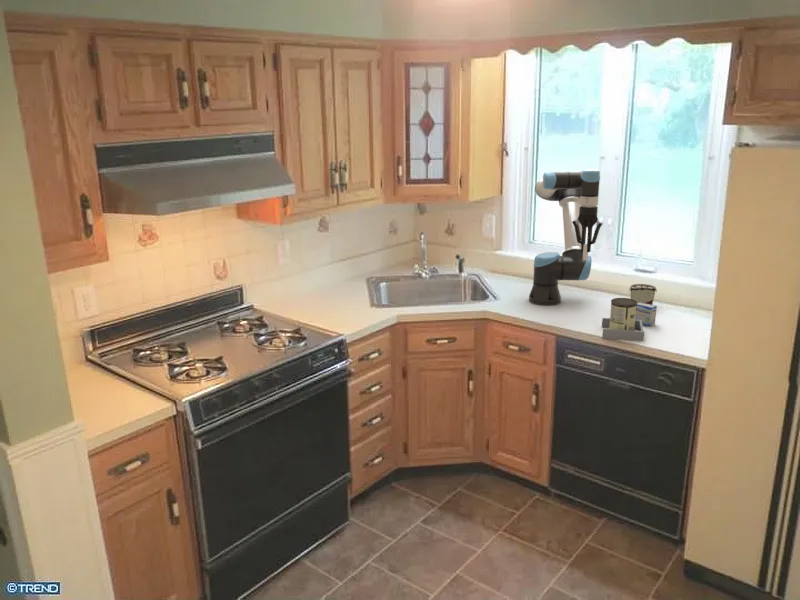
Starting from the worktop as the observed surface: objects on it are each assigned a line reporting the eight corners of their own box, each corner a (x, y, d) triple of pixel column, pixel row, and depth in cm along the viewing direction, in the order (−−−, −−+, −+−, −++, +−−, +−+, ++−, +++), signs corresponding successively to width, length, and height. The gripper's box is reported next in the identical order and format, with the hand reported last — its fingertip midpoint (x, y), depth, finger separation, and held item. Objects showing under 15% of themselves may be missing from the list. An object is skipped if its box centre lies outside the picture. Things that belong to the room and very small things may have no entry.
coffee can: (612, 327, 293) (615, 296, 289) (637, 331, 288) (640, 299, 284) (605, 334, 285) (607, 302, 281) (630, 339, 280) (633, 306, 275)
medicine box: (633, 322, 299) (634, 303, 296) (638, 320, 302) (639, 301, 299) (650, 326, 293) (652, 307, 291) (655, 324, 296) (657, 305, 294)
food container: (651, 304, 324) (653, 283, 321) (655, 307, 318) (657, 287, 315) (625, 303, 325) (626, 283, 322) (627, 307, 319) (629, 287, 316)
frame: (602, 338, 281) (602, 329, 280) (601, 326, 295) (602, 317, 294) (643, 341, 277) (644, 332, 276) (640, 329, 291) (641, 320, 290)
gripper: (571, 206, 294) (568, 259, 301) (601, 208, 288) (597, 262, 295) (576, 203, 301) (573, 255, 308) (606, 205, 294) (602, 258, 301)
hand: (585, 258), depth 301 cm, fingers closed
